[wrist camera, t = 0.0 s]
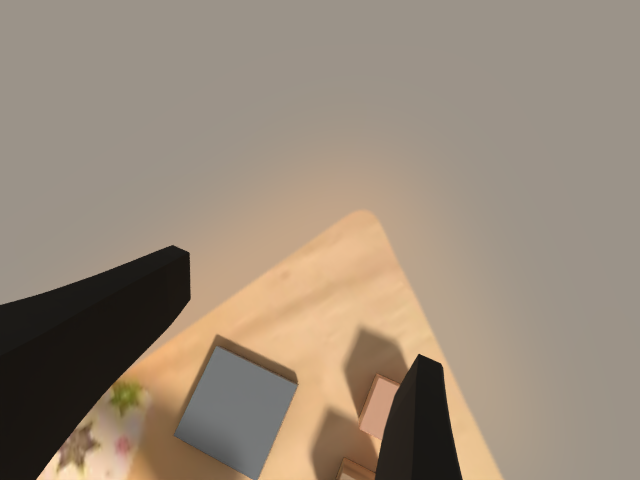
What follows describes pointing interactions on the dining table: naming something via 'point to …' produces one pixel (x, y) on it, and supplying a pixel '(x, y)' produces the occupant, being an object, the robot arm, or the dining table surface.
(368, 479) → the walnut brick
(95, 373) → the robot arm
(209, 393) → the base plate
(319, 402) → the dining table surface
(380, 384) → the pinkish tan block
